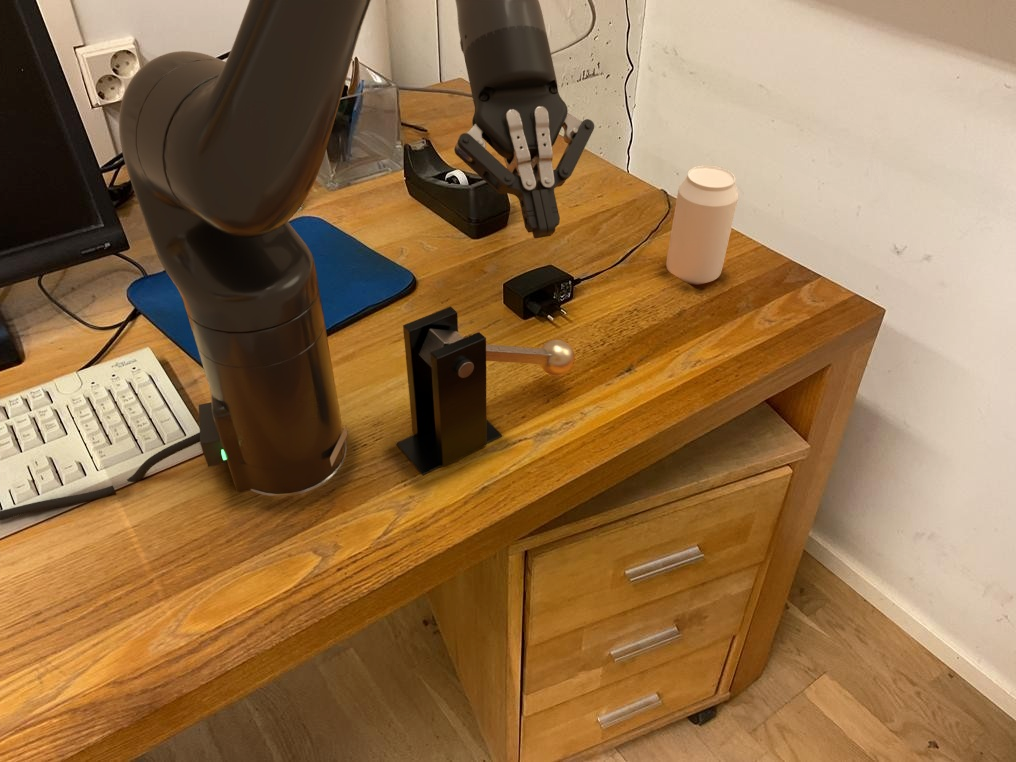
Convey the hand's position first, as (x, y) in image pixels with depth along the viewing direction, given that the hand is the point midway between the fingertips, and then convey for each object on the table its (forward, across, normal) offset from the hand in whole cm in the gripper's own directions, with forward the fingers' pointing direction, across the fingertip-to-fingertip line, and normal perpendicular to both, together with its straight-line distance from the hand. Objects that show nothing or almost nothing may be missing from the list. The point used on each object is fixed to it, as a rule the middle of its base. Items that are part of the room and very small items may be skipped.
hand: (545, 234), depth 71 cm
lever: (+11, -7, 0) cm, 13 cm away
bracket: (+16, -12, +3) cm, 20 cm away
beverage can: (+3, +22, +16) cm, 27 cm away
